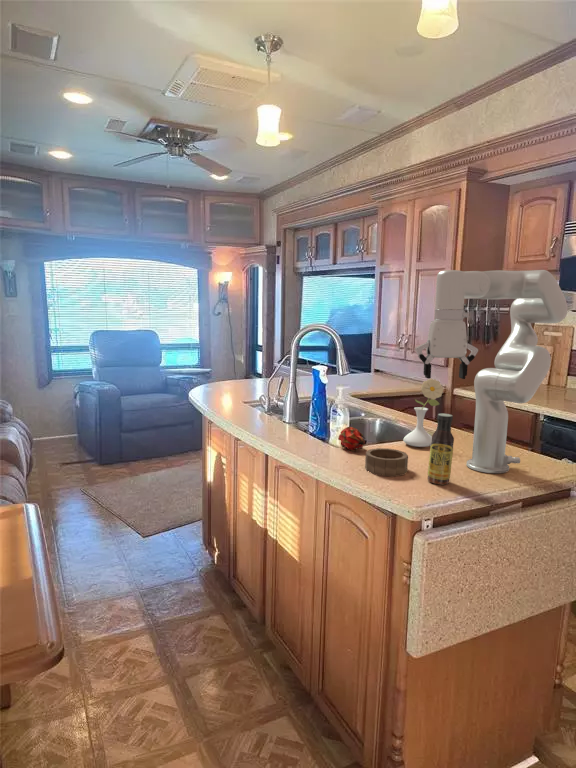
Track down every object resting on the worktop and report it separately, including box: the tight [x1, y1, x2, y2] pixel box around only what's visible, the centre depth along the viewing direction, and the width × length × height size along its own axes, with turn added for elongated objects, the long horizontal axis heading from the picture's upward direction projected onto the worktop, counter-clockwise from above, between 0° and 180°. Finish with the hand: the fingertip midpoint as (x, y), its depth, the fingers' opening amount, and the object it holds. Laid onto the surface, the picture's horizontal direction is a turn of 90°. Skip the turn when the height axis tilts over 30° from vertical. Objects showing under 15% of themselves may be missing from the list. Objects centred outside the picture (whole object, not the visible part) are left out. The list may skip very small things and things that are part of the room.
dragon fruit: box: [337, 426, 368, 452], centre depth 177 cm, size 8×8×12 cm
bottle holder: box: [364, 447, 409, 477], centre depth 155 cm, size 12×12×5 cm
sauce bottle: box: [427, 413, 455, 486], centre depth 143 cm, size 6×6×20 cm
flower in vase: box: [402, 378, 444, 448], centre depth 182 cm, size 13×11×25 cm
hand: (444, 378), depth 140 cm, fingers open, 9 cm apart
